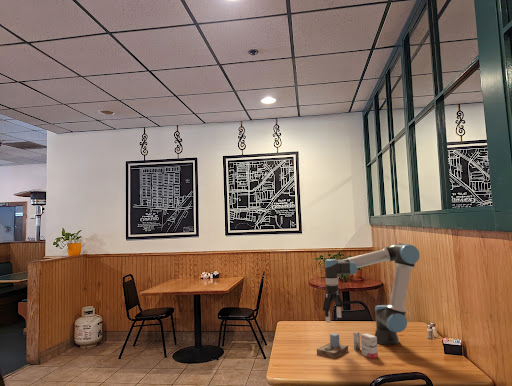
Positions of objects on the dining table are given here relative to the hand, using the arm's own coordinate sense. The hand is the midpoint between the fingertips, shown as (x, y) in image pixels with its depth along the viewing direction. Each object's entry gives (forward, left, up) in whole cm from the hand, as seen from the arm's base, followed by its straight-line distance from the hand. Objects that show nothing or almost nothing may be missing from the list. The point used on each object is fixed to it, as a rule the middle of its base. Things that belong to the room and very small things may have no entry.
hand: (333, 319), depth 226 cm
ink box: (-20, -5, -19) cm, 28 cm away
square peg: (0, 0, -19) cm, 19 cm away
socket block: (0, +3, -19) cm, 19 cm away
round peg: (-9, -11, -19) cm, 23 cm away
